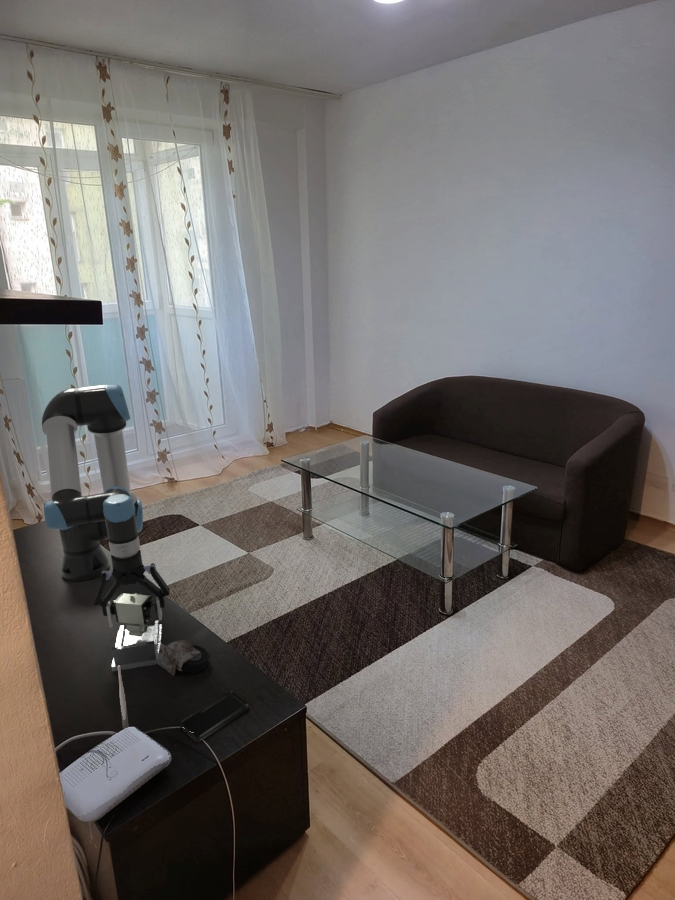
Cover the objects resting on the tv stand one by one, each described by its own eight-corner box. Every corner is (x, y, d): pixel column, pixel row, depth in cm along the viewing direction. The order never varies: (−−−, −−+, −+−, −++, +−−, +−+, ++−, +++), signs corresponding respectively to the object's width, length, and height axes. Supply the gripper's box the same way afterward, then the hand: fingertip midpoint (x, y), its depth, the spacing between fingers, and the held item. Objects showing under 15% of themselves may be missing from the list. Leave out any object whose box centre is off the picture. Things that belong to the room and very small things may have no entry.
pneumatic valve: (153, 640, 168) (147, 602, 164) (114, 635, 171) (107, 598, 167) (162, 628, 174) (157, 591, 170) (124, 624, 176) (118, 587, 172)
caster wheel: (212, 670, 166) (184, 687, 157) (183, 648, 171) (155, 664, 162) (216, 649, 163) (188, 666, 155) (187, 628, 169) (158, 643, 160)
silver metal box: (119, 635, 177) (115, 615, 175) (162, 628, 179) (159, 609, 177) (112, 671, 162) (109, 650, 160) (159, 663, 164) (156, 643, 162)
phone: (250, 705, 148) (196, 740, 138) (250, 709, 149) (197, 744, 139) (230, 689, 153) (177, 722, 143) (230, 693, 154) (178, 726, 144)
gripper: (74, 565, 158) (87, 635, 165) (172, 552, 163) (181, 622, 170) (79, 551, 165) (91, 619, 172) (173, 539, 170) (181, 606, 177)
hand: (136, 621), depth 171 cm, fingers closed on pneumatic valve, 12 cm apart
